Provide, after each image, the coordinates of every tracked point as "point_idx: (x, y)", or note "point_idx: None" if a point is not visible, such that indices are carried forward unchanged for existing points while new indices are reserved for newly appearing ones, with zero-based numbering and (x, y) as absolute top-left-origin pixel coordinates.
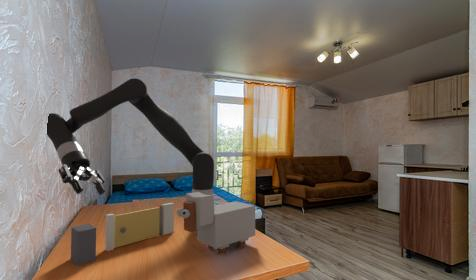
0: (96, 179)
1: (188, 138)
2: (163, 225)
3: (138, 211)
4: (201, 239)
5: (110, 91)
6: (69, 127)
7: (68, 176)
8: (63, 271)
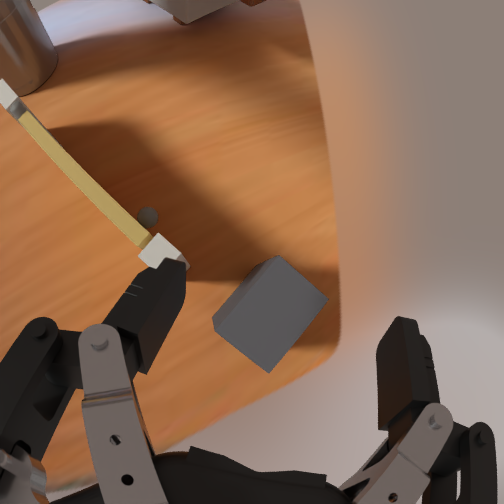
0: (130, 384)
1: None
2: (50, 134)
3: (73, 162)
4: (203, 12)
5: None
6: None
7: (492, 439)
8: (322, 309)
